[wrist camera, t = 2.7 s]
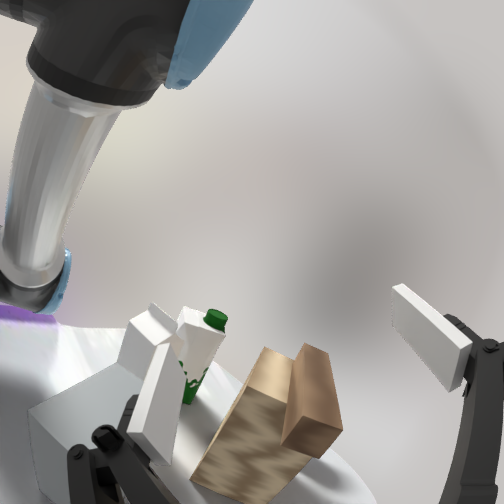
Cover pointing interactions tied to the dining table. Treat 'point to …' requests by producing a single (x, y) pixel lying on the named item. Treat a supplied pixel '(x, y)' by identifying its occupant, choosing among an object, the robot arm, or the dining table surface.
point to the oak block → (253, 438)
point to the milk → (147, 340)
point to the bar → (311, 405)
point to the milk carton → (198, 345)
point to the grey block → (76, 424)
